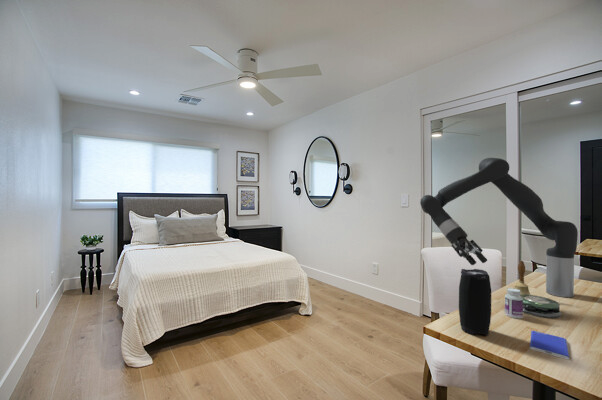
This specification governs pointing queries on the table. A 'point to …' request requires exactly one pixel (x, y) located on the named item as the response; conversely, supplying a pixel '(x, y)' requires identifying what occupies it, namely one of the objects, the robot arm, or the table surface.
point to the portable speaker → (475, 301)
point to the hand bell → (522, 280)
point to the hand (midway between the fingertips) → (480, 263)
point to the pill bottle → (513, 303)
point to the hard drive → (549, 344)
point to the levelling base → (540, 306)
